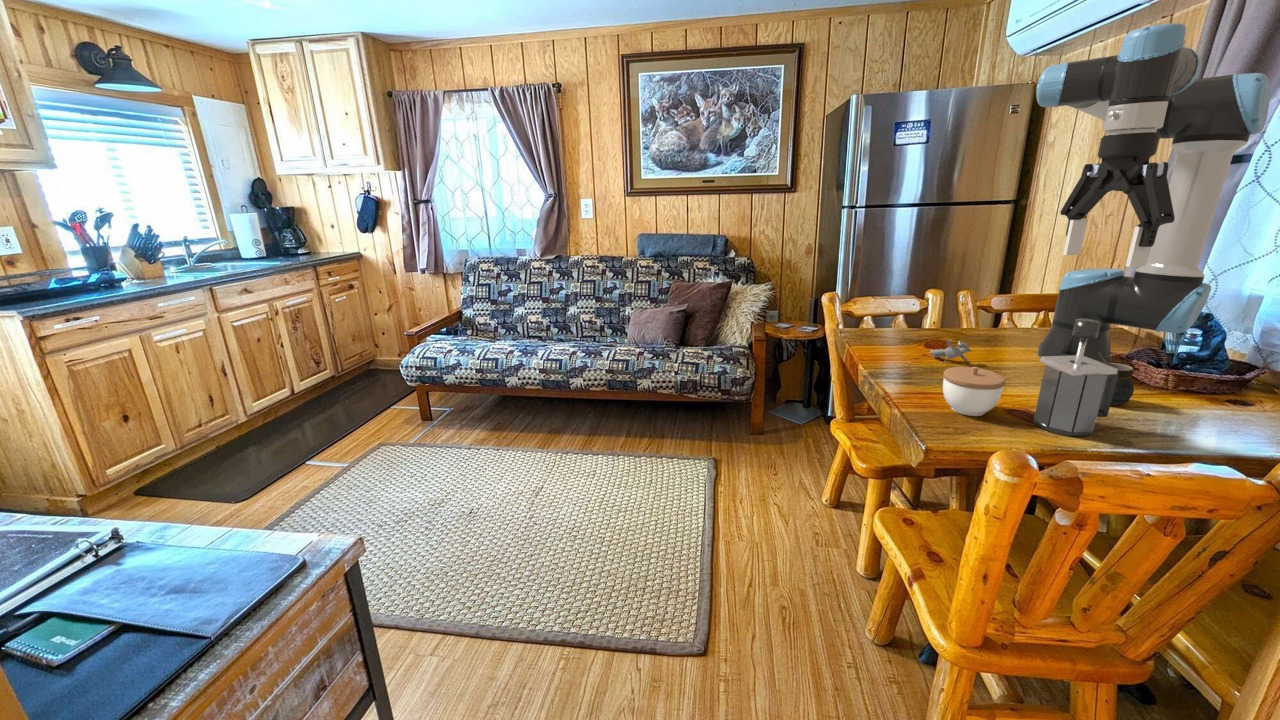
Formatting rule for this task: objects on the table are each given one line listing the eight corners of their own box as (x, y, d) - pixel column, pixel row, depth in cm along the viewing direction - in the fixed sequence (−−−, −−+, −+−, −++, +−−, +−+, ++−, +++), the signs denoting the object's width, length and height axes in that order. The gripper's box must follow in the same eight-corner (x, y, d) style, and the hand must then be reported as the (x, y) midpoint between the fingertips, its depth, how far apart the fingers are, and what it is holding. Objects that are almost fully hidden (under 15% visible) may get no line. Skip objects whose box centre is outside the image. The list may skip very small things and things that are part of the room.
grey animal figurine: (944, 354, 148) (978, 350, 141) (939, 373, 146) (975, 370, 139) (924, 335, 144) (959, 330, 137) (919, 354, 142) (954, 350, 135)
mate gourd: (1119, 411, 110) (1131, 364, 107) (1077, 399, 117) (1087, 355, 114) (1137, 404, 114) (1149, 358, 111) (1094, 392, 120) (1104, 349, 117)
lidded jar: (927, 401, 117) (934, 360, 115) (974, 399, 118) (982, 358, 115) (959, 422, 107) (967, 377, 104) (1010, 419, 108) (1020, 375, 105)
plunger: (1068, 407, 106) (1090, 316, 101) (1092, 419, 101) (1116, 324, 95) (1040, 408, 106) (1060, 317, 101) (1062, 420, 101) (1085, 325, 95)
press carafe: (1082, 415, 109) (1098, 353, 105) (1122, 435, 100) (1141, 369, 96) (1022, 417, 109) (1035, 355, 105) (1057, 438, 100) (1073, 371, 96)
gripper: (1052, 138, 103) (1031, 251, 109) (1182, 127, 79) (1144, 273, 86) (1091, 136, 103) (1067, 249, 110) (1232, 125, 79) (1190, 270, 86)
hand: (1101, 260), depth 98 cm, fingers open, 13 cm apart
